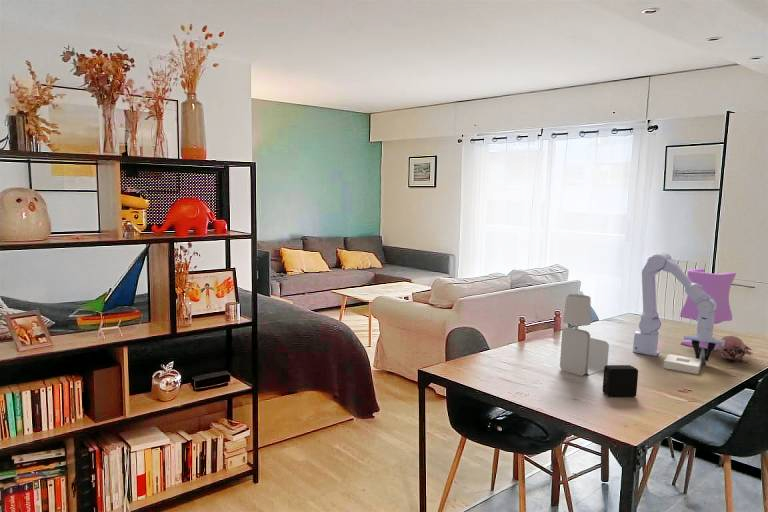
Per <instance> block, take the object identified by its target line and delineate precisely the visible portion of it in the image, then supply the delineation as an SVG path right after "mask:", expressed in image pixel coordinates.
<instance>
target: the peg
mask: <svg viewBox="0 0 768 512" xmlns="http://www.w3.org/2000/svg"><path fill="white" fill-rule="evenodd" d="M706 357H707V348H706V347H699V353H698V359H701V366H706V365H707V361H706Z"/></svg>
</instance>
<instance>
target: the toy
mask: <svg viewBox="0 0 768 512" xmlns="http://www.w3.org/2000/svg"><path fill="white" fill-rule="evenodd" d="M720 340H724V341H725V345H724V346H721V345H718V351H720V355H721V357H722V358H723V359H724V360H725V361H726V362H728V360H727V359H729V360H731V361H738V360H740V361H739V363H741V362H742V360H743V357H744V356H746V355H749V356H751V355H754V353H753V352H752V351H754V350H753V349H752V348H751V347H749V346H748V345H747V344H745V343H744V342H743V340H742V339H741V338H739V337H737V336H735V335H728V336H724V337H721V339H720Z"/></svg>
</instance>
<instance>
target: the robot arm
mask: <svg viewBox="0 0 768 512" xmlns="http://www.w3.org/2000/svg"><path fill="white" fill-rule="evenodd" d="M646 261H647V262H645V265H644V267H643V269H642V270H641V285H642V293H641V294H642V312H641V315H640V321H639V323H638V328H639V331H638V330H636V331H634V337H633V347H632V348H633V349H632V352H633V353H637V354H638V353H639V354H643V355H648V356H649V355H650V356H655V357H656V356H658V354H659V352H660V351H659V350H658V345H659V344H658V342H659V330H660V328H661V326H662V322H661V320H660V318H659V313H658V311H657V295H656V292H657V289H656V275H658V274H659V272H661V271H663V272H666V273H671V274H672V276H673V277H675V279H677V280H678V282H679V283H680V284H681V285H682V286H683V287H684V292H685V294H686V295H687V296H689V297H690V298H691V299H692V300H693V301H694V303H695V304H697V309H698V311H699V315H698V321H697V326H696V335H691V334H690V335H689V334H684V335H683V341H686V340H689V341H692V345H693V347H692V348H693V350H694V354H695V355H694V356H695V358H696V359H698V353H699V342H703V343H709V344H708V350H707V357H706V362H709V358H710V355H711V354H712V352H713V351H712V350H713V349H714V347H715V345H721V346H724V345H725V341H724V340H721V339H718V338H714V337H713V335H714V325H715V324H714V313H715V311H714V310H715V309H716V308H717V303H716V301H715V299H713V298H710V297H711V296H710V295H707V294H706V293H705V291H704V290H703V289H702V286H701V285H698V284H697V283H692V282H691V280H690V279H689V278H688V274H686V273H685V271H683V269H682V268H681V267H680V265H679V264H678V263H677V261H676V260H675V259H674V258H672V256H671V255H670V254H668V253H665V252H664V253H660V254H653V255H652V256H651V257H649V258H648V259H647V260H646ZM712 311H713V312H712Z"/></svg>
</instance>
